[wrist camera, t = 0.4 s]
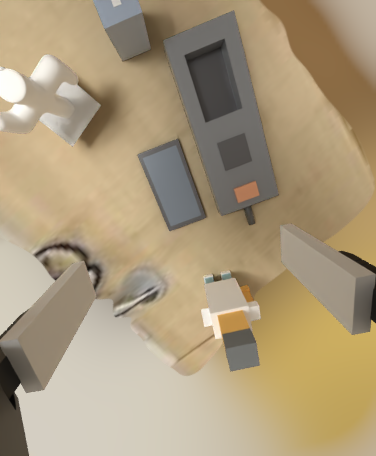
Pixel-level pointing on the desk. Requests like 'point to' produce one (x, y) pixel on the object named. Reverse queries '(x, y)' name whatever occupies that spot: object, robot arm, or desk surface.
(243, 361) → the character figure
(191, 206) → the phone
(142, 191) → the desk surface
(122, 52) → the brick
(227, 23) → the power strip
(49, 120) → the figurine
